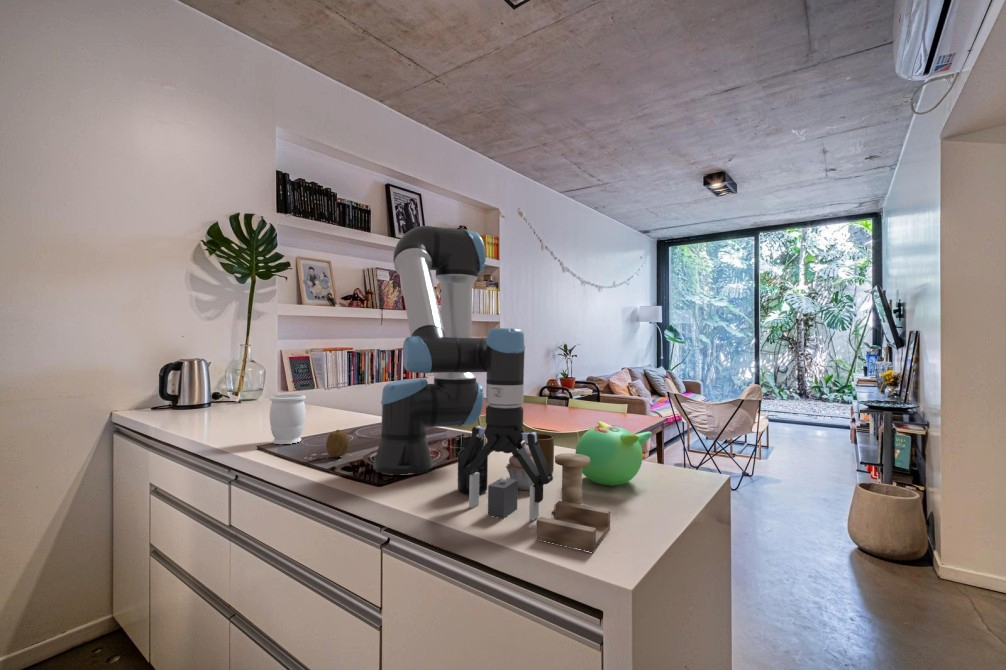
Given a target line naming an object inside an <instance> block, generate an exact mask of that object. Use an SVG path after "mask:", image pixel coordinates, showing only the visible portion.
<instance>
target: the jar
mask: <svg viewBox="0 0 1006 670" xmlns="http://www.w3.org/2000/svg"><path fill="white" fill-rule="evenodd" d="M306 398H307V395H305V394H280V395H273V396H270V398H269V400H270V401H271V404H270V408H269V424H270V431H271V434H272V437H274V439H273V440H272V444H273V443H276V444H291V445H293V444H292V443H296V444H298V443H297V442H299V443H301V442H302V441H301V440H302V438H301V435H302V433H303V431H304V426H305V422H306V413H307V412H306V403H305V400H306ZM300 441H301V442H300Z"/></svg>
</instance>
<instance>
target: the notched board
mask: <svg viewBox="0 0 1006 670" xmlns="http://www.w3.org/2000/svg"><path fill="white" fill-rule="evenodd" d="M555 504H556V514H555V516H554V518H549V517H544V516H540V517H537V518H536V528H535V529H536V531H535V532H536V536H535V537H536V539H537V540H536V541H538V540H542V541H546V542H550V543H554V544H558V545H557V546H559V545H562V546H561V547H563V546H567V547H571V548H577V549H581V550H585V551H589V552H593V551H594V550H595V549H596V550H597V549H598V547H599V546H598V545H600V544H601V543H602V541H603V540H604V538H605V537H606V536H607V534H609V531H610V530H611V509H606V508H600V507H594V506H589V505H587V506H585V505H586V504H585V505H579V504H574V503H569V502H564V501H562V500H558V501H557V502H556V503H555ZM542 541H541V542H542ZM546 542H545V543H546ZM550 543H549V544H550ZM554 544H553V545H554ZM597 546H598V547H597ZM567 547H566V548H567ZM571 548H570V549H571ZM596 550H595V551H596ZM595 551H594V552H595ZM594 552H593V553H594Z"/></svg>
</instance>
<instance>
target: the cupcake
mask: <svg viewBox="0 0 1006 670" xmlns="http://www.w3.org/2000/svg"><path fill="white" fill-rule="evenodd" d="M524 448H525V449H526V453H527V454H528V456H529V457H530V459H531V460H532V462H533V463H534V465H535V466H536V464H535V462H534V459H533V457H532V455H531V452H530V450H529V446H527V445H526V444H524ZM505 468H506V471H507V472H508V475H509V479H514V480H518V489H517V490H518V491H519V490H521V491H530V485H532V484H533V482H532V480H531V479H530V477H529V476H528V474H527V473H526V471H525V470H524V468H523V467H522V465H521V464H520V462H519V461H518V459H517V458H516V457H514V456H513V455H511V456H510V457H509V459H508V463H506V466H505ZM536 468H537V467H536Z"/></svg>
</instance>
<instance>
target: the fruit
mask: <svg viewBox="0 0 1006 670" xmlns="http://www.w3.org/2000/svg"><path fill="white" fill-rule="evenodd" d="M326 438H327V439H326V443H325V444H326V451H327V453H328V455H330V456H331V457H333V458H335V457H340V456H341V457H343V456H345V455H346V453H348V450H349V448H350V437H349V436H348V433H347V432H346V431H343V430H340V429H336V430H335V431H332V432H330V434H329V435H328V436H327V437H326ZM341 457H340V458H341Z"/></svg>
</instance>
